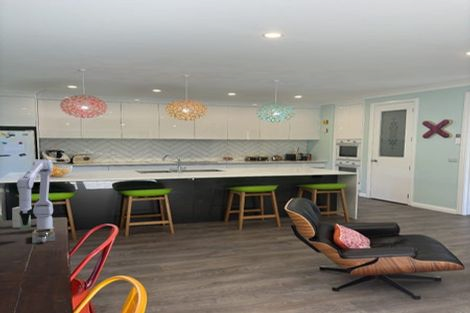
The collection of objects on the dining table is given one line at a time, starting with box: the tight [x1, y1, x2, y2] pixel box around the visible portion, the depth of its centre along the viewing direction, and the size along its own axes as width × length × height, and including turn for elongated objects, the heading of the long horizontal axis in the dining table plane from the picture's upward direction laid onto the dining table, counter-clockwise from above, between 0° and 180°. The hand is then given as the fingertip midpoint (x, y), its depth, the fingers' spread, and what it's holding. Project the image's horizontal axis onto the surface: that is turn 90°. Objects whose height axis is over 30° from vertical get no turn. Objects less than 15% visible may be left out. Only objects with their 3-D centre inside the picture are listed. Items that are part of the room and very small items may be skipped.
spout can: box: [19, 214, 32, 230], centre depth 202 cm, size 5×5×8 cm
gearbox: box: [31, 228, 56, 244], centre depth 204 cm, size 20×11×4 cm, turn 29°
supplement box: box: [11, 206, 22, 229], centre depth 236 cm, size 7×7×13 cm
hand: (25, 224), depth 202 cm, fingers closed on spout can, 5 cm apart
